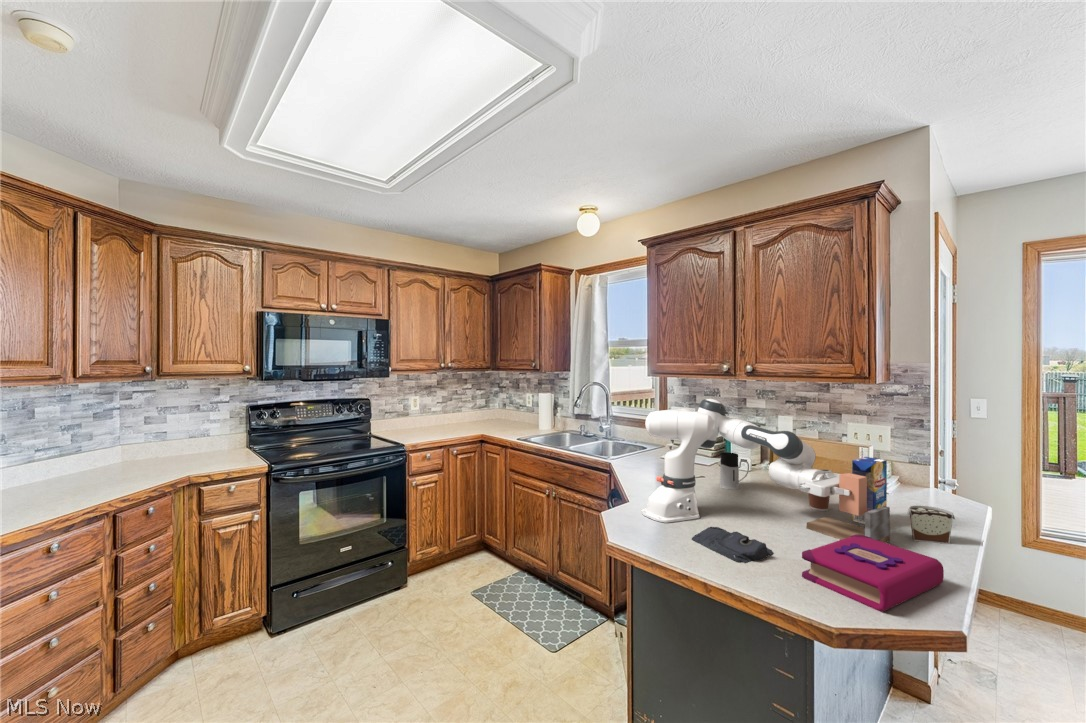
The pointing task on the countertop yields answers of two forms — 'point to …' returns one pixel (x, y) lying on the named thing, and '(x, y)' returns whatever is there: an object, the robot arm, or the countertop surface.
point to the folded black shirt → (732, 545)
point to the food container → (930, 524)
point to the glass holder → (730, 471)
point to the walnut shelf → (874, 526)
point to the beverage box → (872, 483)
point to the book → (872, 571)
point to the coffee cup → (818, 502)
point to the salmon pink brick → (853, 494)
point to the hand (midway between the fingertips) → (855, 491)
